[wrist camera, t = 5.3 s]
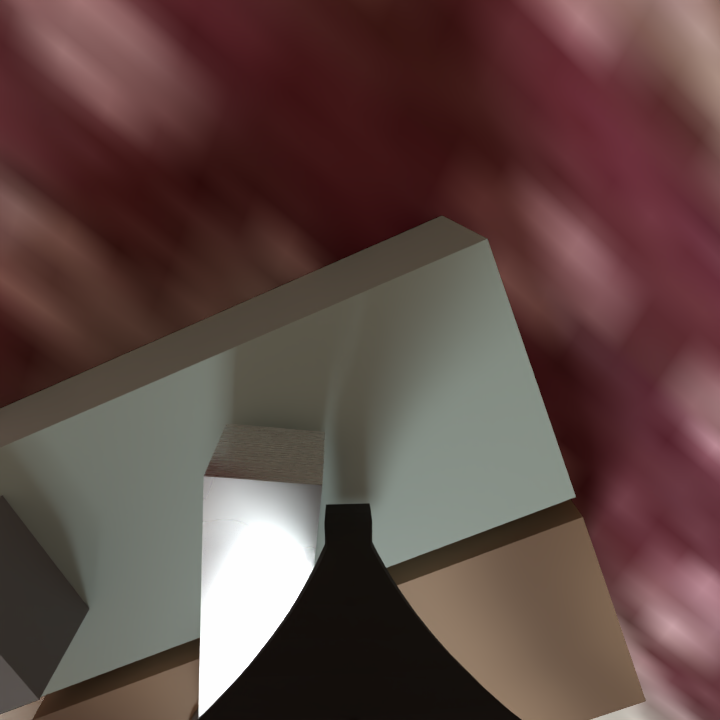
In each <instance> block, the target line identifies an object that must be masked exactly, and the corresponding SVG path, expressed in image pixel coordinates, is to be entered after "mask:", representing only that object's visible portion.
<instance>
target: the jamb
mask: <svg viewBox="0 0 720 720" xmlns="http://www.w3.org/2000/svg"><path fill="white" fill-rule="evenodd" d="M387 570H388V572H389V573H390V575H391V577H392V578H393V580H394V582H395V583H396V585H397V586H398V588H399V589H400V591H401V592H402V594H403V595H404V597H405V598H406V600H407V601H408V602H409V604H410V605H411V607H412V608H413V609H414V611H415V612H416V613H417V615H418V616H419V617H420V619H421V620H422V621H423V622H424V624H425V625H426V626H427V627H428V629H429V630H430V631H431V632H432V634H433V635H434V636H435V637H436V638H437V639H438V640H439V642H440V643H441V644H442V645H443V646H444V647H445V648H446V650H447V651H448V652H449V653H450V654H451V655H452V656H453V657H454V658H455V659H456V660H457V661H458V662H459V663H460V664H461V665H462V666H463V667H464V668H465V669H466V670H467V671H468V672H469V673H470V674H471V675H472V676H473V677H474V678H475V679H476V680H477V681H478V682H479V683H480V684H481V685H482V686H483V687H484V688H485V689H486V690H487V691H488V692H490V693H491V694H492V695H493V696H494V697H495V698H496V699H497V700H499V701H500V702H501V703H502V704H503V705H504V706H505V707H507V708H508V709H509V710H510V711H511V712H512V713H514V714H515V715H516V716H518V717H519V718H520V719H522V720H590V719H593V718H596V717H599V716H602V715H605V714H608V713H611V712H615V711H618V710H621V709H624V708H627V707H630V706H633V705H636V704H639V703H642V702H645V701H646V700H645V697H644V694H643V691H642V688H641V685H640V683H639V680H638V677H637V674H636V671H635V668H634V665H633V662H632V659H631V656H630V653H629V650H628V648H627V645H626V642H625V639H624V636H623V633H622V630H621V627H620V624H619V621H618V618H617V615H616V612H615V610H614V607H613V604H612V601H611V598H610V595H609V592H608V589H607V586H606V583H605V580H604V577H603V575H602V572H601V569H600V566H599V563H598V560H597V557H596V554H595V551H594V548H593V545H592V542H591V540H590V537H589V534H588V531H587V528H586V525H585V522H584V519H583V517H582V515H581V514H580V512H579V511H578V509H577V508H576V506H575V505H574V504H573V502H572V501H571V499H569V500H567V501H564V502H561V503H558V504H556V505H553V506H550V507H548V508H545V509H542V510H540V511H537V512H534V513H532V514H529V515H526V516H524V517H521V518H518V519H516V520H513V521H510V522H508V523H505V524H502V525H500V526H497V527H494V528H492V529H489V530H486V531H484V532H481V533H478V534H475V535H473V536H470V537H467V538H465V539H462V540H459V541H457V542H454V543H451V544H449V545H446V546H443V547H441V548H438V549H435V550H433V551H430V552H427V553H425V554H422V555H419V556H417V557H414V558H411V559H409V560H406V561H403V562H401V563H398V564H395V565H392V566H390V567H387ZM199 670H200V638H197V639H194V640H192V641H189V642H186V643H184V644H181V645H178V646H176V647H173V648H170V649H168V650H165V651H162V652H160V653H157V654H154V655H152V656H149V657H146V658H143V659H141V660H138V661H135V662H133V663H130V664H127V665H125V666H122V667H119V668H117V669H114V670H111V671H109V672H106V673H103V674H101V675H98V676H95V677H93V678H90V679H87V680H85V681H82V682H79V683H77V684H74V685H71V686H69V687H66V688H63V689H61V690H58V691H55V692H52V693H50V694H47V695H46V696H45V698H44V700H43V702H42V703H41V705H40V707H39V709H38V711H37V712H36V714H35V716H34V718H33V720H197V719H198V717H199Z"/></svg>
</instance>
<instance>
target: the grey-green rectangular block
mask: <svg viewBox="0 0 720 720" xmlns="http://www.w3.org/2000/svg"><path fill="white" fill-rule="evenodd" d="M226 424H237V425H249V426H261V427H273V428H285V429H297V430H309V431H321V432H325V442H324V463H323V484H322V494H321V504H320V514H319V523H318V533H317V543H316V553H315V562H314V566H315V564H316V562H317V560H318V558H319V556H320V553H321V551H322V549H323V547H324V545H325V530H324V520H325V509H326V504H362V503H370V509H371V515H372V542H373V544H374V546H375V548H376V550H377V552H378V554H379V556H380V558H381V559H382V561H383V563H384V565H385V567H386V568H387V567H390V566H392V565H395V564H398V563H401V562H403V561H406V560H409V559H411V558H414V557H417V556H419V555H422V554H425V553H427V552H430V551H433V550H435V549H438V548H441V547H443V546H446V545H449V544H451V543H454V542H457V541H459V540H462V539H465V538H467V537H470V536H473V535H475V534H478V533H481V532H484V531H486V530H489V529H492V528H494V527H497V526H500V525H502V524H505V523H508V522H510V521H513V520H516V519H518V518H521V517H524V516H526V515H529V514H532V513H534V512H537V511H540V510H542V509H545V508H548V507H550V506H553V505H556V504H558V503H561V502H564V501H567V500H569V499H572V498H575V497H576V496H575V493H574V490H573V487H572V484H571V481H570V478H569V475H568V472H567V469H566V467H565V464H564V461H563V458H562V455H561V452H560V449H559V446H558V443H557V440H556V437H555V434H554V432H553V429H552V426H551V423H550V420H549V417H548V414H547V411H546V408H545V405H544V402H543V399H542V397H541V394H540V391H539V388H538V385H537V382H536V379H535V376H534V373H533V370H532V367H531V364H530V361H529V359H528V356H527V353H526V350H525V347H524V344H523V341H522V338H521V335H520V332H519V329H518V326H517V324H516V321H515V318H514V315H513V312H512V309H511V306H510V303H509V300H508V297H507V294H506V291H505V289H504V286H503V283H502V280H501V277H500V274H499V271H498V268H497V265H496V262H495V259H494V256H493V253H492V251H491V248H490V245H489V242H488V239H487V238H485V237H483V236H481V235H479V234H477V233H475V232H473V231H471V230H469V229H467V228H465V227H463V226H462V225H460V224H458V223H456V222H454V221H452V220H450V219H448V218H446V217H444V216H440V217H437V218H435V219H433V220H431V221H428V222H426V223H424V224H421V225H419V226H417V227H415V228H412V229H410V230H408V231H405V232H403V233H401V234H399V235H396V236H394V237H392V238H389V239H387V240H385V241H383V242H380V243H378V244H376V245H373V246H371V247H369V248H366V249H364V250H362V251H360V252H357V253H355V254H353V255H350V256H348V257H346V258H344V259H341V260H339V261H337V262H334V263H332V264H330V265H328V266H325V267H323V268H321V269H318V270H316V271H314V272H312V273H309V274H307V275H305V276H302V277H300V278H298V279H296V280H293V281H291V282H289V283H286V284H284V285H282V286H280V287H277V288H275V289H273V290H270V291H268V292H266V293H264V294H261V295H259V296H257V297H254V298H252V299H250V300H247V301H245V302H243V303H241V304H238V305H236V306H234V307H231V308H229V309H227V310H225V311H222V312H220V313H218V314H215V315H213V316H211V317H209V318H206V319H204V320H202V321H199V322H197V323H195V324H193V325H190V326H188V327H186V328H183V329H181V330H179V331H177V332H174V333H172V334H170V335H167V336H165V337H163V338H161V339H158V340H156V341H154V342H151V343H149V344H147V345H144V346H142V347H140V348H138V349H135V350H133V351H131V352H128V353H126V354H124V355H122V356H119V357H117V358H115V359H112V360H110V361H108V362H106V363H103V364H101V365H99V366H96V367H94V368H92V369H90V370H87V371H85V372H83V373H80V374H78V375H76V376H74V377H71V378H69V379H67V380H64V381H62V382H60V383H58V384H55V385H53V386H51V387H48V388H46V389H44V390H41V391H39V392H37V393H35V394H32V395H30V396H28V397H25V398H23V399H21V400H19V401H16V402H14V403H12V404H9V405H7V406H5V407H3V408H0V714H2V713H5V712H8V711H10V710H13V709H16V708H18V707H21V706H24V705H26V704H29V703H32V702H34V701H37V700H39V699H40V697H42V696H44V695H47V694H50V693H52V692H55V691H58V690H61V689H63V688H66V687H69V686H71V685H74V684H77V683H79V682H82V681H85V680H87V679H90V678H93V677H95V676H98V675H101V674H103V673H106V672H109V671H111V670H114V669H117V668H119V667H122V666H125V665H127V664H130V663H133V662H135V661H138V660H141V659H143V658H146V657H149V656H152V655H154V654H157V653H160V652H162V651H165V650H168V649H170V648H173V647H176V646H178V645H181V644H184V643H186V642H189V641H192V640H194V639H197V638H200V623H201V577H202V530H203V483H204V474H205V472H206V470H207V467H208V465H209V463H210V460H211V458H212V456H213V453H214V451H215V449H216V446H217V444H218V442H219V439H220V437H221V435H222V432H223V430H224V427H225V425H226Z"/></svg>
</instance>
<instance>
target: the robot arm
mask: <svg viewBox="0 0 720 720" xmlns="http://www.w3.org/2000/svg"><path fill="white" fill-rule="evenodd" d="M324 530H325V545H324V547H323V549H322V551H321V553H320V556H319V558H318V560H317V562H316V564H315V566H314V568H313V570H312V572H311V574H310V576H309V577H308V579H307V581H306V583H305V585H304V586H303V588H302V590H301V592H300V593H299V595H298V597H297V599H296V600H295V602H294V603H293V605H292V607H291V608H290V610H289V611H288V613H287V614H286V616H285V617H284V619H283V620H282V622H281V623H280V624H279V626H278V627H277V629H276V630H275V632H274V633H273V634H272V636H271V637H270V638H269V640H268V641H267V642H266V643H265V645H264V646H263V647H262V649H261V650H260V651H259V652H258V654H257V655H256V656H255V657H254V659H253V660H252V661H251V662H250V664H249V665H248V666H247V667H246V668H245V670H244V671H243V672H242V673H241V674H240V675H239V676H238V678H237V679H236V680H235V681H234V682H233V683H232V684H231V685H230V686H229V687H228V688H227V689H226V690H225V691H224V692H223V693H222V694H221V695H220V697H219V698H218V699H217V700H216V701H215V702H214V703H213V704H212V705H211V706H210V707H209V708H208V709H207V710H206V711H205V712H204V713H203V714H202V715H201V716H200V717H199V718H198V719H197V720H522V719H520V718H519V717H518V716H516V715H515V714H514V713H512V712H511V711H510V710H509V709H508V708H507V707H505V706H504V705H503V704H502V703H501V702H500V701H499V700H497V699H496V698H495V697H494V696H493V695H492V694H491V693H490V692H488V691H487V690H486V689H485V688H484V687H483V686H482V685H481V684H480V683H479V682H478V681H477V680H476V679H475V678H474V677H473V676H472V675H471V674H470V673H469V672H468V671H467V670H466V669H465V668H464V667H463V666H462V665H461V664H460V663H459V662H458V661H457V660H456V659H455V658H454V657H453V656H452V655H451V654H450V653H449V652H448V651H447V650H446V648H445V647H444V646H443V645H442V644H441V643H440V642H439V640H438V639H437V638H436V637H435V636H434V635H433V634H432V632H431V631H430V630H429V629H428V627H427V626H426V625H425V624H424V622H423V621H422V620H421V619H420V617H419V616H418V615H417V613H416V612H415V611H414V609H413V608H412V607H411V605H410V604H409V602H408V601H407V600H406V598H405V597H404V595H403V594H402V592H401V591H400V589H399V588H398V586H397V585H396V583H395V582H394V580H393V578H392V577H391V575H390V573H389V572H388V570H387V568H386V567H385V565H384V563H383V561H382V559H381V558H380V556H379V554H378V552H377V550H376V548H375V546H374V544H373V542H372V515H371V509H370V503H362V504H326V509H325V520H324Z"/></svg>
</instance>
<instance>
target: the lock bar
mask: <svg viewBox="0 0 720 720" xmlns="http://www.w3.org/2000/svg"><path fill="white" fill-rule="evenodd" d="M324 442H325V432H321V431H309V430H297V429H285V428H273V427H261V426H249V425H237V424H226V425H225V427H224V430H223V432H222V435H221V437H220V439H219V442H218V444H217V446H216V449H215V451H214V453H213V456H212V458H211V460H210V463H209V465H208V467H207V470H206V472H205V474H204V483H203V530H202V577H201V623H200V670H199V717H200V716H201V715H202V714H203V713H204V712H205V711H206V710H207V709H208V708H209V707H210V706H211V705H212V704H213V703H214V702H215V701H216V700H217V699H218V698H219V697H220V695H221V694H222V693H223V692H224V691H225V690H226V689H227V688H228V687H229V686H230V685H231V684H232V683H233V682H234V681H235V680H236V679H237V678H238V676H239V675H240V674H241V673H242V672H243V671H244V670H245V668H246V667H247V666H248V665H249V664H250V662H251V661H252V660H253V659H254V657H255V656H256V655H257V654H258V652H259V651H260V650H261V649H262V647H263V646H264V645H265V643H266V642H267V641H268V640H269V638H270V637H271V636H272V634H273V633H274V632H275V630H276V629H277V627H278V626H279V624H280V623H281V622H282V620H283V619H284V617H285V616H286V614H287V613H288V611H289V610H290V608H291V607H292V605H293V603H294V602H295V600H296V599H297V597H298V595H299V593H300V592H301V590H302V588H303V586H304V585H305V583H306V581H307V579H308V577H309V576H310V574H311V572H312V570H313V568H314V562H315V553H316V543H317V533H318V523H319V514H320V504H321V494H322V484H323V463H324ZM199 717H198V718H199Z"/></svg>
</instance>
